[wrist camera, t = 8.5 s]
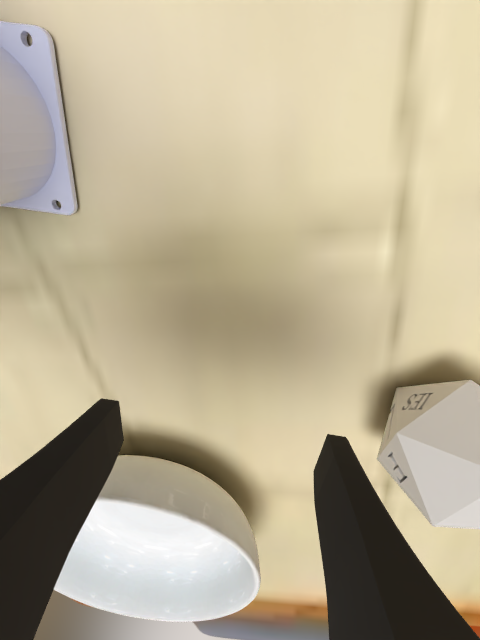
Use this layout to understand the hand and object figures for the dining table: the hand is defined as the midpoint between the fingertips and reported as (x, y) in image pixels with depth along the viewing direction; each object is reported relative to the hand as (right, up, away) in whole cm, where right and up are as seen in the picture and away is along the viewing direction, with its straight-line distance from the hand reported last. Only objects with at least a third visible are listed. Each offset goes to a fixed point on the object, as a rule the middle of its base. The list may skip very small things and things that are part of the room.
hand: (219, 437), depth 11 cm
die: (+14, -2, +12) cm, 19 cm away
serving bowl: (-7, -13, +21) cm, 26 cm away
